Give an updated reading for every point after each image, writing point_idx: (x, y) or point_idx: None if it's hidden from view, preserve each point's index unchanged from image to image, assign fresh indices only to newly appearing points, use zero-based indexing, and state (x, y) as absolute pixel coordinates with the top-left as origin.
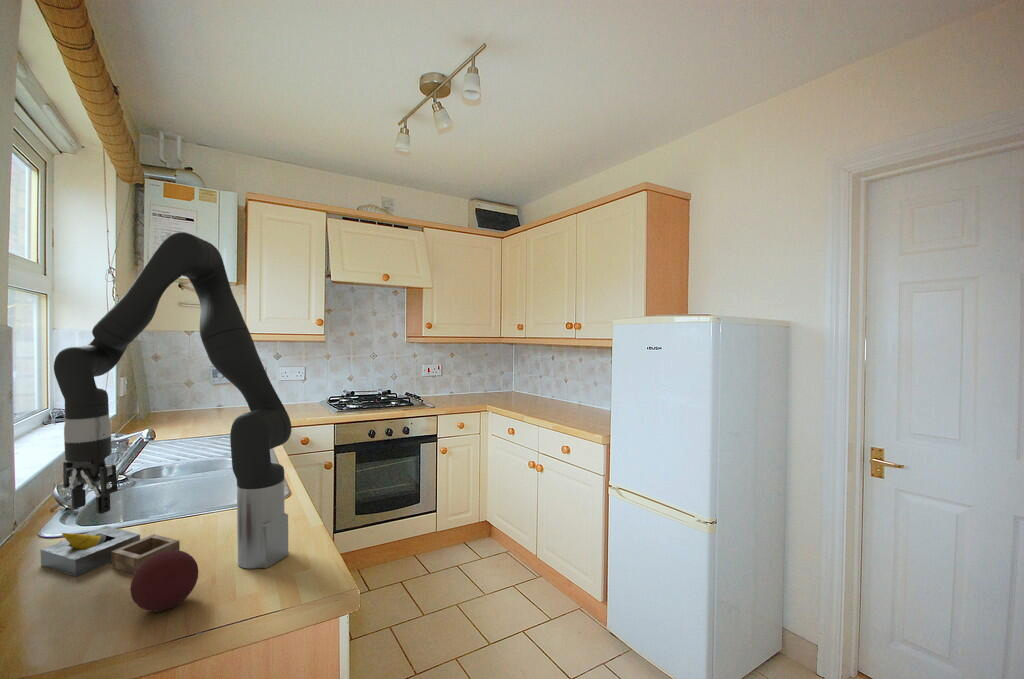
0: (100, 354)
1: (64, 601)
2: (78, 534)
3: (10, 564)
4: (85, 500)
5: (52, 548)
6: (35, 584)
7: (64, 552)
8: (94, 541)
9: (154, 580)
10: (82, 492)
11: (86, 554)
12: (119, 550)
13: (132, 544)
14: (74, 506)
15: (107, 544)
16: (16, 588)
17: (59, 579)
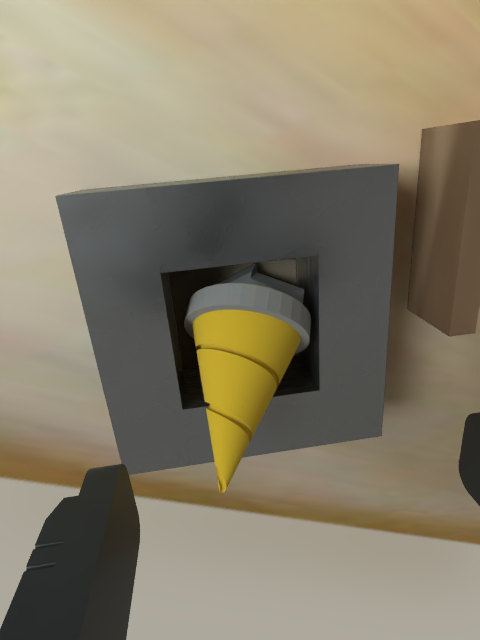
0: None
1: None
2: (243, 417)
3: (16, 475)
4: (111, 496)
5: (160, 448)
6: (283, 468)
7: (260, 436)
8: (292, 347)
9: None
10: (96, 629)
11: (372, 398)
12: (475, 314)
13: (478, 254)
14: (136, 544)
15: (355, 313)
16: (258, 499)
17: None
